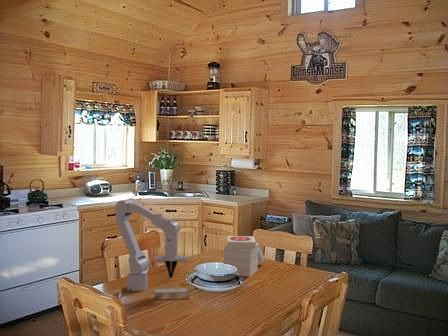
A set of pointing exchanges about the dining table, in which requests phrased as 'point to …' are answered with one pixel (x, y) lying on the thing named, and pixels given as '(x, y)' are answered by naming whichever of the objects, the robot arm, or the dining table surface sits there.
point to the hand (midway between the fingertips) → (170, 277)
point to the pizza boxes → (243, 254)
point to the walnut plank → (171, 296)
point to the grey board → (171, 290)
